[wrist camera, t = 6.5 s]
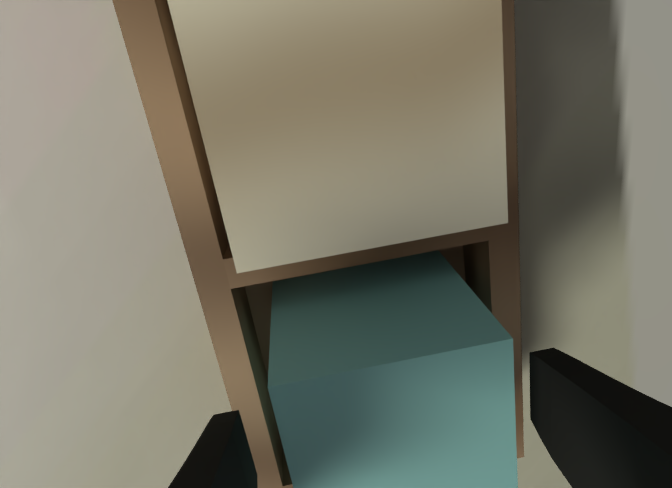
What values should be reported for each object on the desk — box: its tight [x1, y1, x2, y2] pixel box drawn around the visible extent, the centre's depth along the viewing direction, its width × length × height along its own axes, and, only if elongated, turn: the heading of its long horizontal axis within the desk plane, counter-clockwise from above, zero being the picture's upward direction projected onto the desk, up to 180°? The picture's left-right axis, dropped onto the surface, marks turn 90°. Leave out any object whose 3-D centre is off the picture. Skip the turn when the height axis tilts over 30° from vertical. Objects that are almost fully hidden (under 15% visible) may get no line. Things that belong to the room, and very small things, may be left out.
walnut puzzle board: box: [113, 0, 524, 488], centre depth 12 cm, size 16×8×6 cm, turn 9°
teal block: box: [268, 250, 518, 488], centre depth 13 cm, size 5×5×5 cm
